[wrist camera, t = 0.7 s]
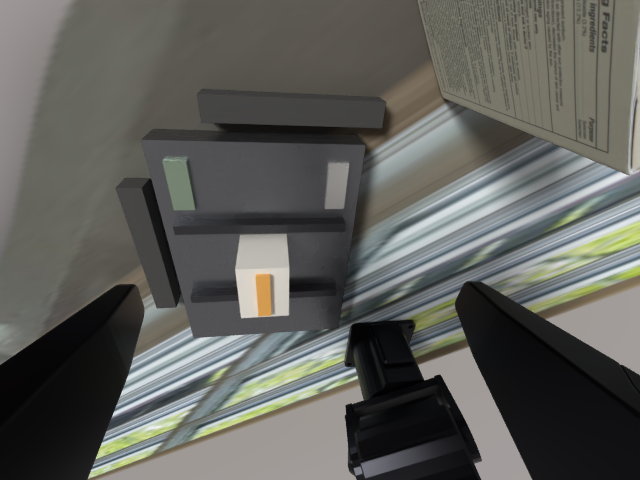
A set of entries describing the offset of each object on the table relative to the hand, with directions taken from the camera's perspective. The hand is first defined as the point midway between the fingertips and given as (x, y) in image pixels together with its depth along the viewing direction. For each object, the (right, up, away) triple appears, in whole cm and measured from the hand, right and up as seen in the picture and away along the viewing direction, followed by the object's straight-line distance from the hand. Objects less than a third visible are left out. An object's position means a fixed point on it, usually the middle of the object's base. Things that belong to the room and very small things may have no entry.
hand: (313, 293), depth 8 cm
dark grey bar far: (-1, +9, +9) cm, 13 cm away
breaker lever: (-4, 0, +13) cm, 13 cm away
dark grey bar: (-11, +1, +13) cm, 18 cm away
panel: (-4, +1, +14) cm, 15 cm away
